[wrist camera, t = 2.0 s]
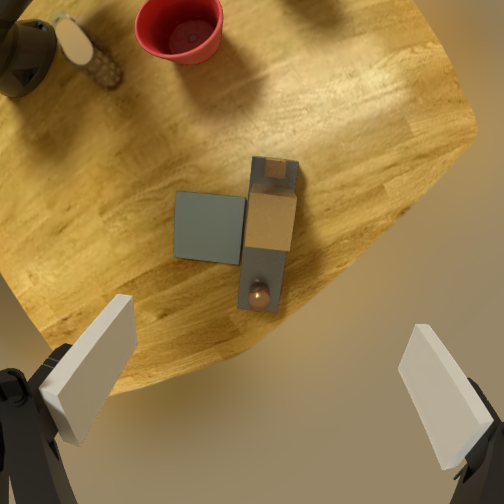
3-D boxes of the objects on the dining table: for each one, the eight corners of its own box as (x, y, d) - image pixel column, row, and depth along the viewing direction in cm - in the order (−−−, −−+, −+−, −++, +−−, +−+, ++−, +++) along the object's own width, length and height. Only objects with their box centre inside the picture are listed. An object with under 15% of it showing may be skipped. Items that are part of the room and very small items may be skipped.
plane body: (276, 302, 50) (277, 326, 43) (238, 298, 50) (234, 322, 43) (296, 160, 42) (302, 163, 36) (253, 155, 42) (250, 157, 36)
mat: (174, 255, 48) (173, 257, 47) (176, 191, 44) (175, 191, 44) (239, 263, 48) (238, 264, 47) (245, 197, 44) (245, 198, 44)
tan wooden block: (285, 231, 43) (289, 251, 35) (248, 227, 43) (244, 246, 35) (291, 187, 41) (297, 198, 33) (253, 183, 41) (250, 192, 33)
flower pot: (215, 0, 34) (203, -30, 25) (242, 57, 38) (235, 35, 28) (150, 29, 36) (124, 7, 27) (173, 86, 39) (149, 73, 30)
